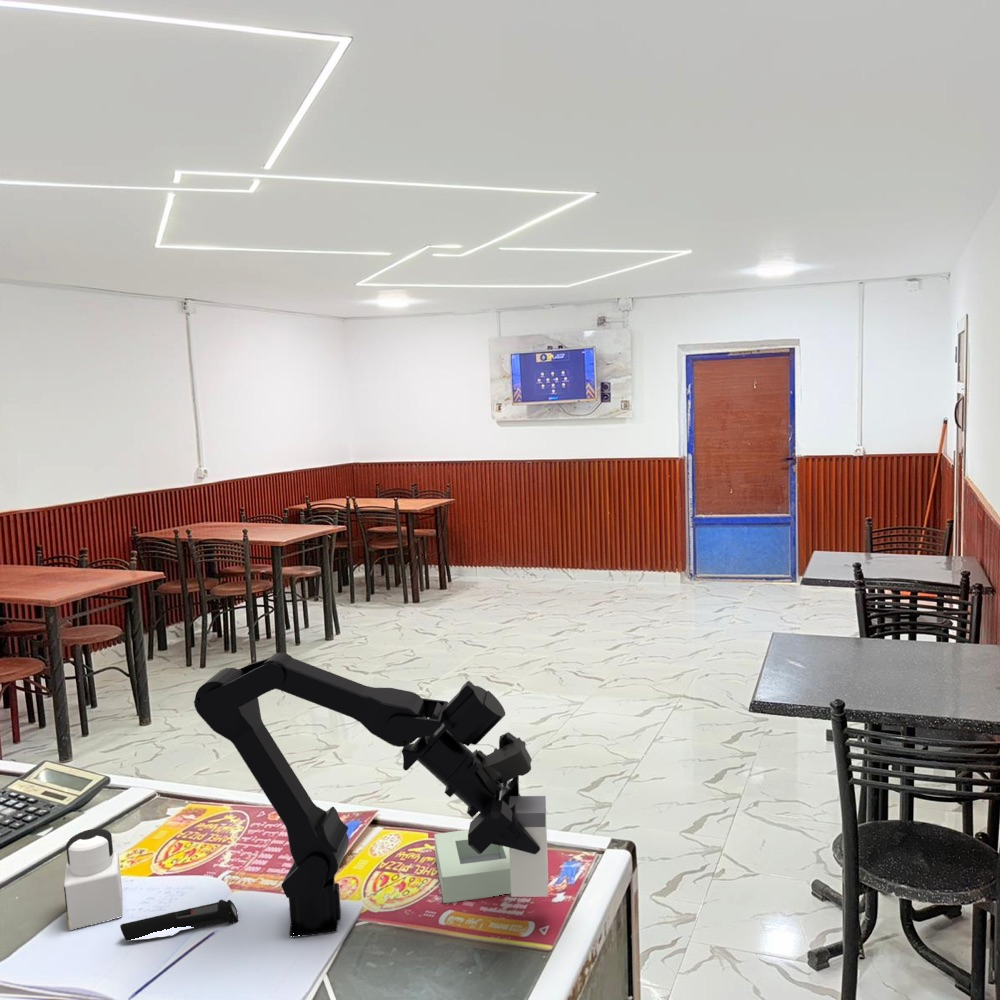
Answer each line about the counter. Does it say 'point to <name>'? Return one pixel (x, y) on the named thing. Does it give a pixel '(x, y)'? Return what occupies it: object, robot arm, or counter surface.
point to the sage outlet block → (470, 868)
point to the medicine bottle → (92, 879)
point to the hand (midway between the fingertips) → (538, 841)
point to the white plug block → (525, 866)
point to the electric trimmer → (183, 919)
